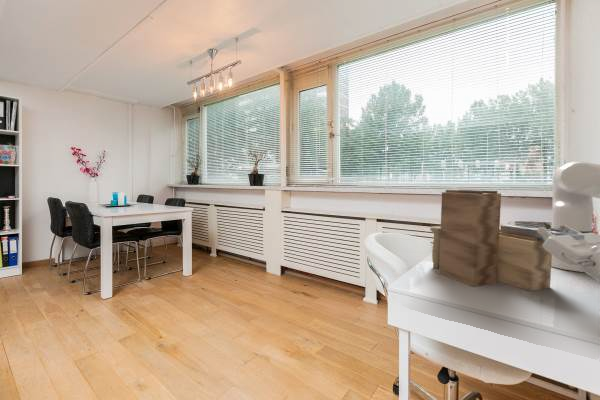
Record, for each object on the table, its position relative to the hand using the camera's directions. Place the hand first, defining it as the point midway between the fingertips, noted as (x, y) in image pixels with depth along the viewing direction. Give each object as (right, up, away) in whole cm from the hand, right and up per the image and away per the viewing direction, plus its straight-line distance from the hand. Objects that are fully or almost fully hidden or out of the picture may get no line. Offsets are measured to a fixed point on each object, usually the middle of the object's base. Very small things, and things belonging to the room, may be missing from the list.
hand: (550, 228), depth 82 cm
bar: (-1, -4, +3) cm, 5 cm away
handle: (-21, -17, +24) cm, 36 cm away
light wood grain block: (-3, -18, +10) cm, 21 cm away
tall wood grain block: (-17, -18, +12) cm, 27 cm away
